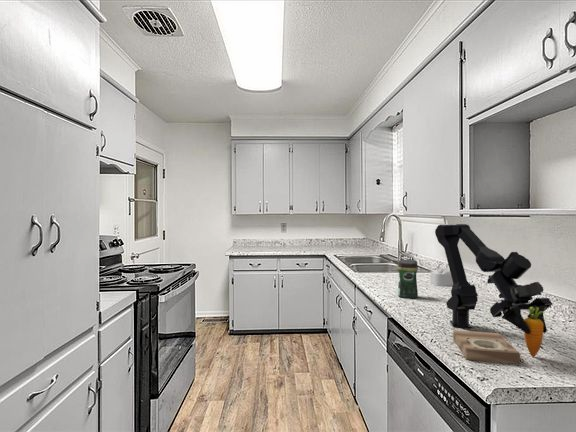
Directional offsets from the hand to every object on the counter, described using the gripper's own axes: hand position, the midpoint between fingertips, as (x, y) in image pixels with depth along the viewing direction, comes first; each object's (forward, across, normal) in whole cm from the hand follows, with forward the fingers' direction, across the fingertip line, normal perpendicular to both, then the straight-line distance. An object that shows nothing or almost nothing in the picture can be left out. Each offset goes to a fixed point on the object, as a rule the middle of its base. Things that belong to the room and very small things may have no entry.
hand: (537, 332), depth 111 cm
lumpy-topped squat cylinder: (-67, +45, +78) cm, 113 cm away
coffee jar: (-51, +7, +62) cm, 80 cm away
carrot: (+4, 0, +6) cm, 8 cm away
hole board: (-1, -11, +12) cm, 16 cm away
